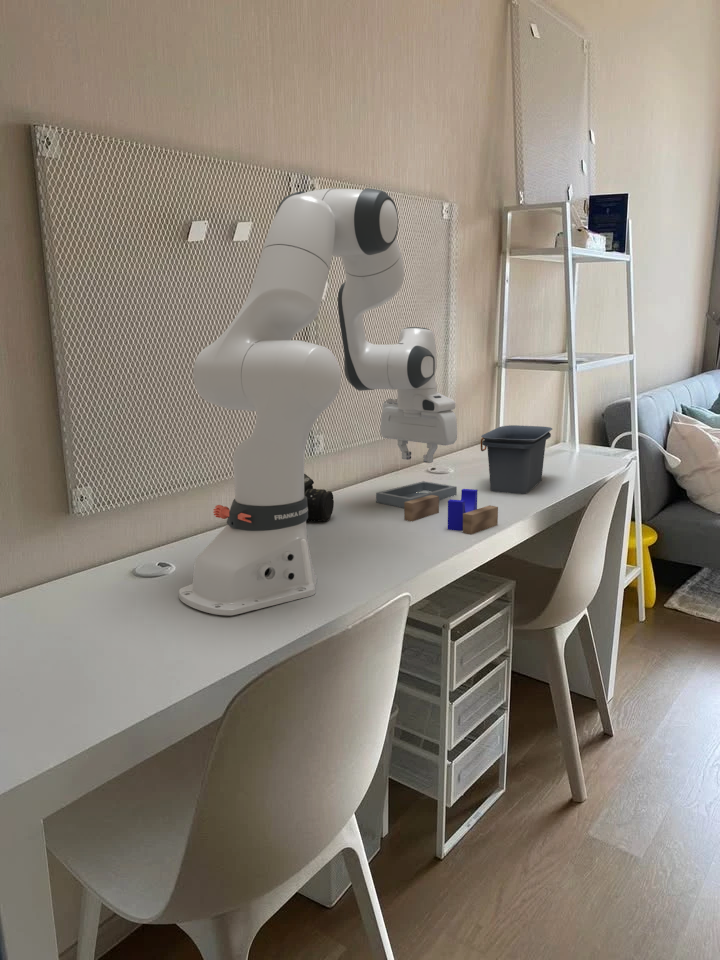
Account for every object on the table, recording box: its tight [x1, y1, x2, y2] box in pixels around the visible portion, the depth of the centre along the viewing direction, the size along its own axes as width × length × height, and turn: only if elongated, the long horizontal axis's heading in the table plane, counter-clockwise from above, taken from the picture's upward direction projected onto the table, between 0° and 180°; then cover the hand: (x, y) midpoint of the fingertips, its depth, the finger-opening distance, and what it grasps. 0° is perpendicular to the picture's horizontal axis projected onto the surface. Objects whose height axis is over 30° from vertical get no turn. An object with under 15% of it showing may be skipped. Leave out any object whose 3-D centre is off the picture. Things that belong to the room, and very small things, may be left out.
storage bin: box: [480, 424, 553, 495], centre depth 184 cm, size 21×16×14 cm
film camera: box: [304, 473, 335, 523], centre depth 158 cm, size 18×12×10 cm
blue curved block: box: [447, 488, 478, 532], centre depth 154 cm, size 12×4×6 cm, turn 158°
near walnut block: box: [462, 504, 499, 535], centre depth 149 cm, size 9×2×4 cm, turn 136°
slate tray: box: [375, 480, 458, 509], centre depth 174 cm, size 17×10×2 cm, turn 136°
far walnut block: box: [403, 495, 440, 522], centre depth 159 cm, size 9×2×4 cm, turn 136°
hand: (417, 460), depth 173 cm, fingers open, 5 cm apart
